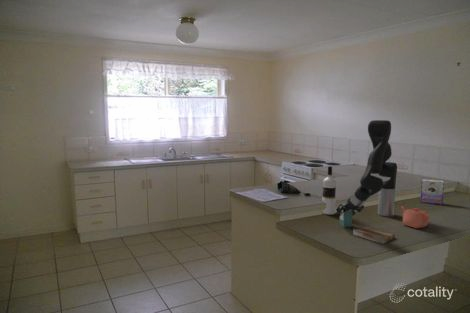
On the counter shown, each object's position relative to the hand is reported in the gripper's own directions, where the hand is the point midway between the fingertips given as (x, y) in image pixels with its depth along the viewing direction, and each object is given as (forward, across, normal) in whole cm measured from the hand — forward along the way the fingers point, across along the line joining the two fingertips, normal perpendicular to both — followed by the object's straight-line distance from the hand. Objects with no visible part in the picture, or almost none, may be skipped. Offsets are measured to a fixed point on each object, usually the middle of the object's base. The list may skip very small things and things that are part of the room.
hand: (344, 214), depth 195 cm
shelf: (-10, -5, +18) cm, 22 cm away
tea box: (+3, 0, +5) cm, 6 cm away
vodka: (+21, -2, -12) cm, 24 cm away
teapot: (-2, -38, +11) cm, 40 cm away
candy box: (+27, -87, -18) cm, 93 cm away
